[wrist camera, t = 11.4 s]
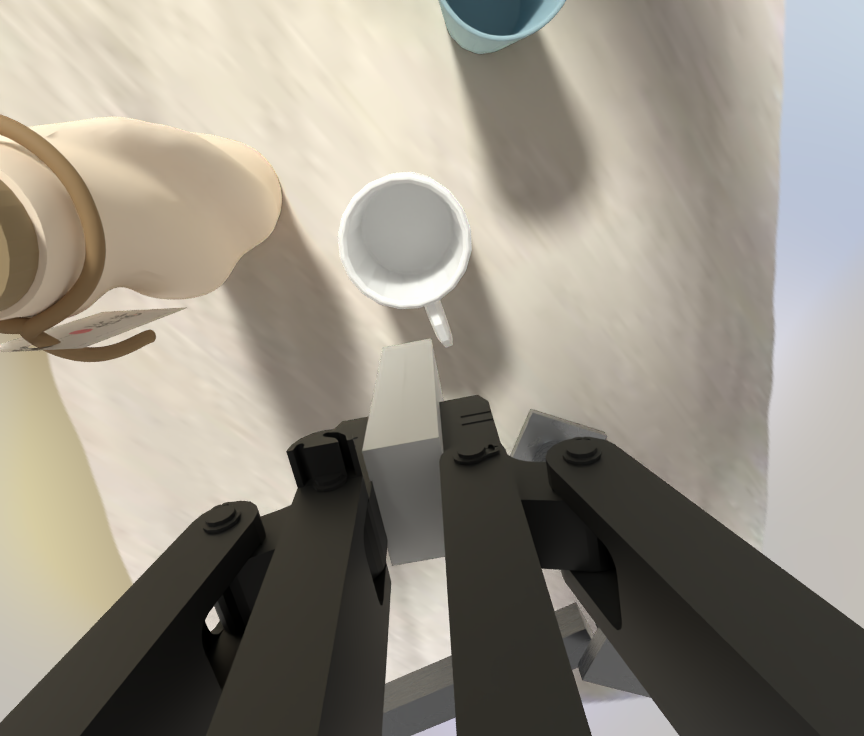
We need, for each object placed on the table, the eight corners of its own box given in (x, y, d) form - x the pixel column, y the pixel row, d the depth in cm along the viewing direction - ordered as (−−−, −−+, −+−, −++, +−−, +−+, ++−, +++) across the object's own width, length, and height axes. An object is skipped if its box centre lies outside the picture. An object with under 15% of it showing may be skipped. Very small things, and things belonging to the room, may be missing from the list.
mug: (399, 338, 46) (394, 382, 37) (338, 196, 43) (315, 205, 33) (491, 303, 46) (510, 338, 36) (437, 154, 42) (443, 151, 32)
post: (530, 408, 49) (613, 588, 28) (604, 432, 50) (737, 622, 29) (501, 476, 51) (557, 689, 30) (571, 497, 52) (674, 718, 31)
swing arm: (575, 600, 33) (585, 628, 31) (591, 630, 34) (603, 660, 32) (304, 715, 36) (297, 749, 34) (326, 741, 37) (321, 775, 35)
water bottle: (321, 243, 44) (173, 360, 17) (219, 288, 45) (-69, 466, 18) (255, 108, 40) (-51, 0, 14) (147, 161, 41) (-329, 153, 15)
